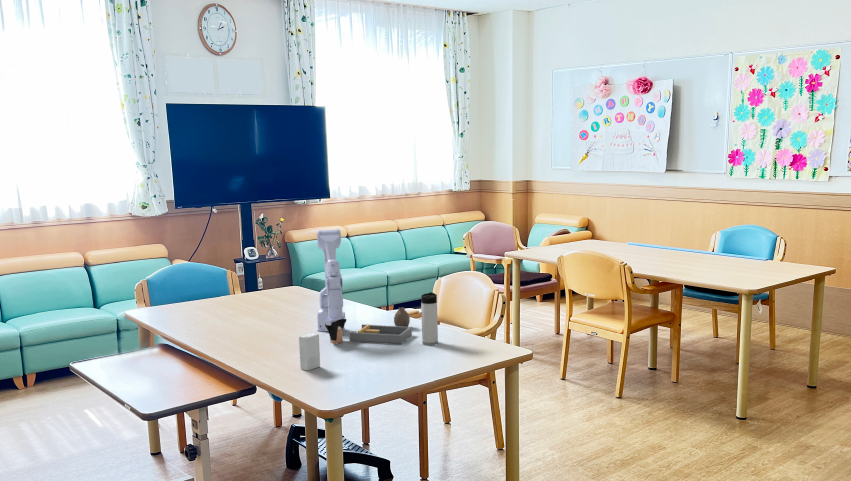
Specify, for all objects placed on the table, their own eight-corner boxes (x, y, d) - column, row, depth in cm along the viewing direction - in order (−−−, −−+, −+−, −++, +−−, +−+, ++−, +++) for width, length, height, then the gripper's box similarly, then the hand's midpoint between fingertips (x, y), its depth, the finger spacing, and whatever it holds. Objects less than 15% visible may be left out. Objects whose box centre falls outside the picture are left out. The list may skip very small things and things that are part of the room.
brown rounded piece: (407, 330, 294) (407, 310, 293) (392, 329, 296) (391, 309, 295) (411, 326, 301) (411, 306, 300) (396, 325, 302) (395, 306, 301)
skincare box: (312, 364, 248) (311, 332, 247) (321, 367, 245) (319, 334, 244) (299, 369, 244) (298, 335, 242) (307, 371, 241) (306, 337, 239)
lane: (349, 341, 279) (349, 332, 278) (362, 332, 292) (362, 324, 292) (401, 344, 272) (400, 335, 272) (411, 335, 286) (411, 327, 285)
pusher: (358, 338, 279) (357, 331, 279) (367, 332, 290) (367, 324, 289) (374, 339, 277) (373, 331, 277) (383, 333, 288) (383, 325, 287)
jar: (328, 343, 277) (327, 328, 276) (333, 339, 281) (332, 325, 281) (339, 343, 275) (339, 329, 274) (344, 340, 280) (344, 326, 279)
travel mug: (440, 341, 275) (439, 292, 273) (435, 345, 269) (434, 296, 266) (425, 340, 277) (424, 292, 275) (420, 344, 271) (418, 295, 268)
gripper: (336, 310, 268) (338, 343, 270) (351, 302, 282) (352, 334, 284) (320, 309, 270) (321, 342, 272) (335, 301, 284) (336, 333, 286)
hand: (336, 338), depth 278 cm, fingers closed on jar, 5 cm apart
